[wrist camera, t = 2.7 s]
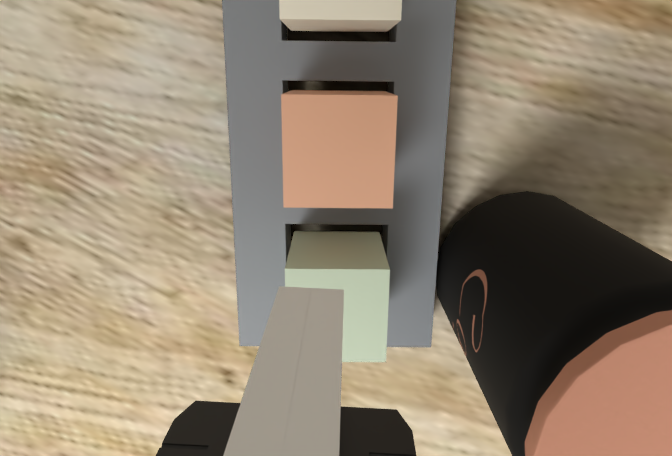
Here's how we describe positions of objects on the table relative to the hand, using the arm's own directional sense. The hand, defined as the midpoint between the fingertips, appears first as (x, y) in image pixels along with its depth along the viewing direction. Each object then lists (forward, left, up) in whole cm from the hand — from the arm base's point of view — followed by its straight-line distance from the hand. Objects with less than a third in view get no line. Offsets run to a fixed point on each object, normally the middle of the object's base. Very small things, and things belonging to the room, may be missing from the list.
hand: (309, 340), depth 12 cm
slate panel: (+1, +3, -21) cm, 21 cm away
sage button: (+1, -5, -18) cm, 19 cm away
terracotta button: (+1, +3, -18) cm, 18 cm away
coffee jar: (+13, -6, -21) cm, 25 cm away
